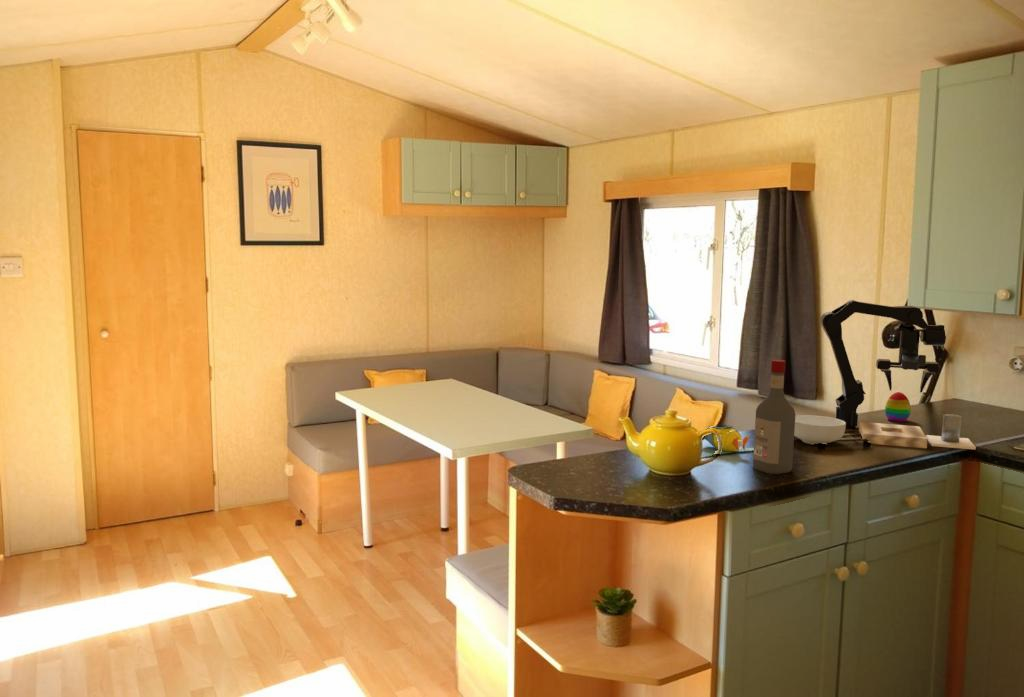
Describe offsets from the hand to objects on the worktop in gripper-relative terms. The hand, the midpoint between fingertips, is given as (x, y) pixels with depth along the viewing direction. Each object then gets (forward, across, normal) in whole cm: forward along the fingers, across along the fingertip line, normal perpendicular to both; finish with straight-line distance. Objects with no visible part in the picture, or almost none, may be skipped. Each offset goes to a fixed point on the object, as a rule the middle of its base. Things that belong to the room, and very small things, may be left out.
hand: (905, 391), depth 282 cm
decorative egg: (+13, 0, +16) cm, 21 cm away
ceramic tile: (+13, +12, -15) cm, 23 cm away
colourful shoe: (+14, -54, -52) cm, 76 cm away
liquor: (+13, -40, -67) cm, 79 cm away
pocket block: (+13, -5, -16) cm, 21 cm away
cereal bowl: (+13, -28, -29) cm, 43 cm away
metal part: (+12, +12, -15) cm, 23 cm away
